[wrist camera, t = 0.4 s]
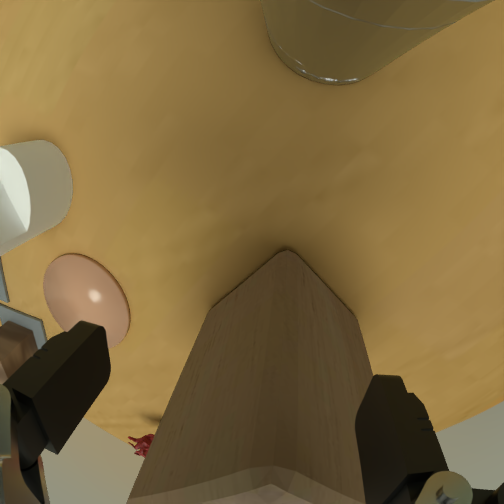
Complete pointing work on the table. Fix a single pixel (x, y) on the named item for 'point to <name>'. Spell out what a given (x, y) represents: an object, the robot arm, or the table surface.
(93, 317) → the pink round disc
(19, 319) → the code tile
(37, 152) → the cylinder with rectangular tab
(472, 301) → the table surface
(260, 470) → the block
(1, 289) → the code tile
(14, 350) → the walnut block
